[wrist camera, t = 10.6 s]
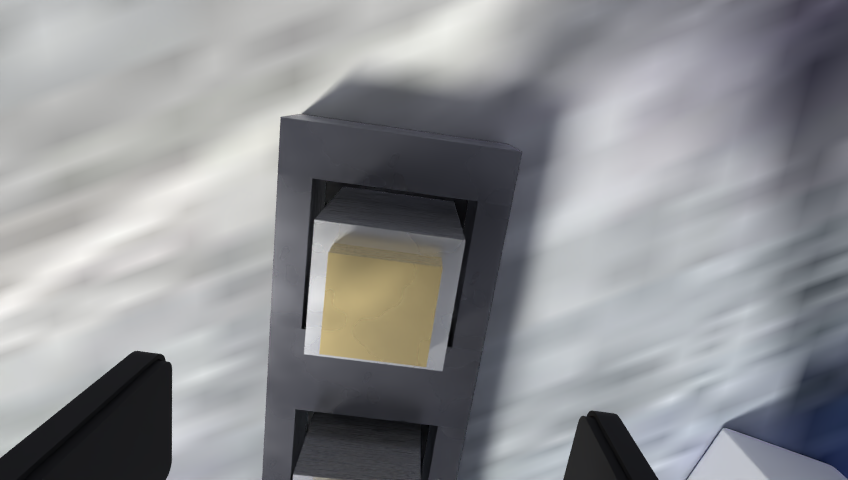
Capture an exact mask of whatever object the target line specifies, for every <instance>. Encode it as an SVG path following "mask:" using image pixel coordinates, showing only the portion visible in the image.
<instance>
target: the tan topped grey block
mask: <svg viewBox="0 0 848 480" xmlns="http://www.w3.org/2000/svg"><path fill="white" fill-rule="evenodd" d="M420 448H421V424H417V423H409V422H400V421H392V420H383V419H374V418H366V417H357V416H349V415H340V414H331V413H323V412H314V414H313V417H312V420H311V423H310V426H309V429H308V432H307V435H306V438H305V441H304V444H303V447H302V450H301V453H300V456H299V459H298V462H297V465H296V468H295V470H294V473H293V480H420Z"/></svg>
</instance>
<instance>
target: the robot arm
mask: <svg viewBox="0 0 848 480" xmlns="http://www.w3.org/2000/svg"><path fill="white" fill-rule="evenodd" d="M171 463H172V365H171V363H170V362H166V361H165V357H164V356H163V355H162V354H156V353H149V352H141V351H134V352H132V353H131V354H129V355H128V356H127V357H126V358H124V359H123V360H122V361H121V362H119V363H118V364H117V365H116V366H115V367H113V368H112V369H111V370H110V371H108V372H107V373H106V374H105V375H103V376H102V377H101V378H100V379H98V380H97V381H96V382H95V383H93V384H92V385H91V386H90V387H88V388H87V389H86V390H85V391H83V392H82V393H81V394H80V395H78V396H77V397H76V398H75V399H73V400H72V401H71V402H70V403H68V404H67V405H66V406H65V407H63V408H62V409H61V410H60V411H58V412H57V413H56V414H55V415H53V416H52V417H51V418H50V419H48V420H47V421H46V422H45V423H43V424H42V425H41V426H40V427H38V428H37V429H36V430H35V431H33V432H32V433H31V434H30V435H29V436H27V437H26V438H25V439H24V440H22V441H21V442H20V443H19V444H17V445H16V446H15V447H14V448H12V449H11V450H10V451H9V452H7V453H6V454H5V455H4V456H2V457H1V458H0V480H166V478H167V476H168V474H169V471H170V468H171ZM563 480H658V478H657V476H656V475H655V473H654V472H653V470H652V469H651V467H650V465H649V464H648V462H647V461H646V459H645V457H644V456H643V454H642V453H641V451H640V449H639V448H638V446H637V445H636V443H635V441H634V440H633V438H632V437H631V435H630V433H629V432H628V430H627V429H626V427H625V426H624V424H623V422H622V421H621V419H620V418H619V416H618V415H617V414H614V413H606V412H598V411H590V412H589V413H588V414H587V417H586V416H582V417H581V418H580V419H579V422H578V426H577V430H576V433H575V437H574V441H573V445H572V449H571V452H570V456H569V460H568V464H567V468H566V471H565V475H564V479H563Z"/></svg>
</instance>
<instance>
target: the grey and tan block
mask: <svg viewBox="0 0 848 480" xmlns="http://www.w3.org/2000/svg"><path fill="white" fill-rule="evenodd" d="M465 241H466V240H465V237H464V233H463V230H462V227H461V223H460V220H459V217H458V214H457V210H456V207H455V204H454V202H453V201H446V200H439V199H431V198H424V197H417V196H410V195H403V194H396V193H389V192H381V191H374V190H367V189H360V188H353V187H346V186H343V187H342V189H341V190H340V191H339V192H338V193H337V194H336V195H335V197H334V198H333V199H332V200H331V201H330V202H329V203H328V205H327V206H326V207H325V208H324V209H323V210H322V212H321V213H320V214H319V215H318V216H317V217H316V218H315V220H314V231H313V244H312V257H311V270H310V283H309V295H308V308H307V321H306V334H305V347H304V354H306V355H315V356H323V357H331V358H339V359H347V360H355V361H363V362H371V363H379V364H388V365H396V366H404V367H412V368H420V369H428V370H436V371H443V365H444V360H445V354H446V348H447V343H448V337H449V331H450V326H451V320H452V314H453V309H454V303H455V297H456V292H457V286H458V281H459V275H460V269H461V264H462V258H463V252H464V247H465Z"/></svg>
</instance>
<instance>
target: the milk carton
mask: <svg viewBox="0 0 848 480" xmlns="http://www.w3.org/2000/svg"><path fill="white" fill-rule="evenodd" d="M687 480H848V479H847V478H846V477H845V476H844V475H842V474H841V473H840V472H839V471H838V470H837V469H836V468H834V467H833V466H831V465H828V464H826V463H823V462H820V461H818V460H815V459H812V458H809V457H806V456H804V455H801V454H798V453H795V452H792V451H790V450H787V449H784V448H781V447H778V446H776V445H773V444H770V443H767V442H764V441H762V440H759V439H756V438H753V437H751V436H748V435H745V434H742V433H739V432H736V431H734V430H731V429H727V428H723V429H722V430H721V432H720V433H719V434H718V436H717V437H716V439H715V440H714V442H713V443H712V444H711V446H710V447H709V449H708V450H707V452H706V453H705V454H704V456H703V457H702V459H701V460H700V462H699V463H698V465H697V466H696V467H695V469H694V470H693V472H692V473H691V475H690V476H689V478H688V479H687Z"/></svg>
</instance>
